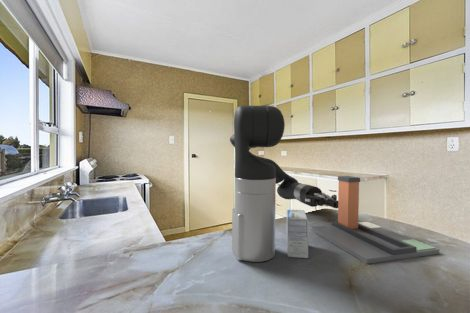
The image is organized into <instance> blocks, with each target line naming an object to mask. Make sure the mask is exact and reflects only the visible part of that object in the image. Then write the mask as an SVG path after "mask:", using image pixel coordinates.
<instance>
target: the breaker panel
mask: <svg viewBox="0 0 470 313" xmlns="http://www.w3.org/2000/svg"><path fill="white" fill-rule="evenodd" d="M310 228H311V231H312V232H314V233H315V234H318V235H319V236H321V237H322V238H324V239H325V240H326V241H328V242H330V243H332V244H334V245H335V246H336V247H339V248H340V249H342V250H344V251H345V252H347V253H348V254H349V255H351V256H353V257H354V258H356V259H357V260H360V262H363V263H364V264H373V263H374V264H377V263H383V262H389V261H397V260H402V259H403V260H404V259H410V258H418V257H425V256H432V255H434V256H435V255H439V254H440V252H441V250H440V248H437V247H434V246H432V245H429V244H426V243H425V242H421V241H419V240H417V239H414V238H412V237H408V236H406V235H403V234H400V233H399V232H395V231H394V230H391V229H388V228H385V227H383V226H380V225H378V224H375V223H372V222H370V221H361V222H360V221H358V228H356V229H351V228H349V227H347V226H345V225H343V224H340V223H338V219H337V220H331V223H330V224H326V225H316V226H315V225H314V226H311V227H310Z"/></svg>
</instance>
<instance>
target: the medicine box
mask: <svg viewBox="0 0 470 313" xmlns="http://www.w3.org/2000/svg"><path fill="white" fill-rule="evenodd" d="M286 247H287V249H286V250H287V257H288V258H289V257H290V258H297V259H299V258H300V259H308V258H309V219H308V216H307V215H306V211H305V210H302V209H287V210H286Z"/></svg>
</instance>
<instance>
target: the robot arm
mask: <svg viewBox="0 0 470 313" xmlns="http://www.w3.org/2000/svg"><path fill="white" fill-rule="evenodd" d="M285 125H286V124H285V118H284V115H283V113H282V111H281V110H280V109H279V108H278V107H276V106H274V105H239V106H237V108H236V109H235V111H234V116H233V132H234V133H233V134H232V135H231V137H230V138H229V142H230V144H231V145H232V146H233V148H234V155H235V156H234V158H235V159H234V208H232V213H231V216H232V217H231V218H232V219H231V222H232V224H231V226H232V227H231V231H232V232H231V238H232V240H231V249H232V250H233V253H234V255H235V258H236V259H237V260H238V261H245V262H250V263H251V262H252V263H261V262H265V261H269V260H272V259H273V258H274V257H275V254H276V192H277V195H278V196H279V197H281V198H283V199H285V200H296V201H298V202H300V203H302V204H304V205H307V206H308V207H312V208H314V207H317V206H319V207H324V206H325V207H331V208H333V209H338V200H337V198H338V197H337V196H338V194H337V195H336V194H332V195H331V196H330V195H329V194H327V193H325V192H323V191H322V190H321V188H320V187H318V186H315V185H310V184H307V183H301V182H299V180H297V179H296V178H295V177H292V175H289V174H288V173H286V172H285V171H284V170H283V169H282V168H281V167H280V165H278V163H276V161H274V160H272V159H270V158H267V157H261V156H258V155H255V154H253V153H252V152H251V151H250V150H252V149H256V148H273V147H276V146H277V145H278V144H279V143H280V141H281V140H282V138H283V135H284V133H285V127H286V126H285ZM276 184H277V185H278V187H276ZM276 188H277V189H276Z"/></svg>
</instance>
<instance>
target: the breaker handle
mask: <svg viewBox="0 0 470 313" xmlns="http://www.w3.org/2000/svg"><path fill="white" fill-rule="evenodd" d="M337 181H338V194H337V196H338V197H337V198H338V200H337V201H338V208H337V220H338V223H340V224H343V225H345V226H347V227H349V228H351V229H356V228H358V223H359V205H360V204H359V202H360V201H359V200H360V182H361V177H359V176H352V175H339V176H337Z"/></svg>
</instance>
